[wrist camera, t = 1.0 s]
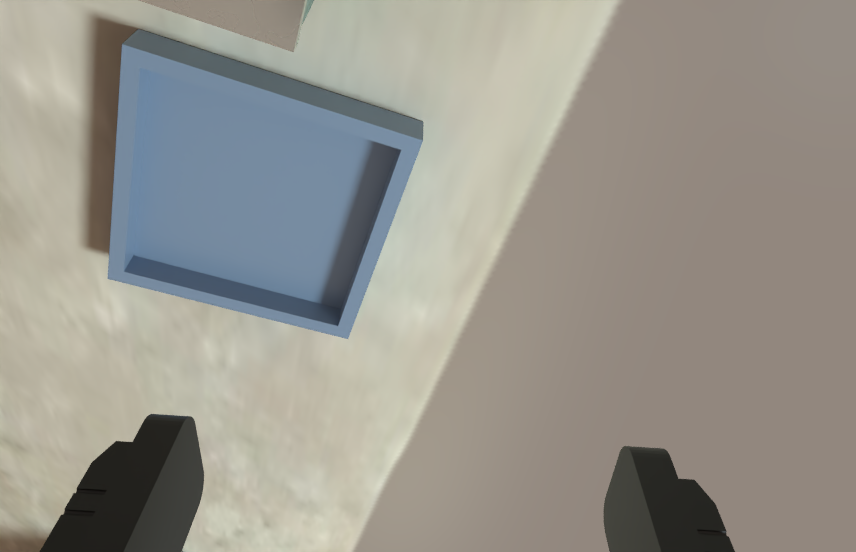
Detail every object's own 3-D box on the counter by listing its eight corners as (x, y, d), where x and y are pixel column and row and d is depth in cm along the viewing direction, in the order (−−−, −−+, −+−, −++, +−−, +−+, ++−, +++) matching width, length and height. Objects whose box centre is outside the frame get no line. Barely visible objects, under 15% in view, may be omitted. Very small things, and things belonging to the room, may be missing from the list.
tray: (121, 256, 38) (107, 278, 36) (138, 28, 30) (122, 44, 28) (351, 316, 40) (347, 339, 39) (423, 121, 32) (423, 140, 31)
